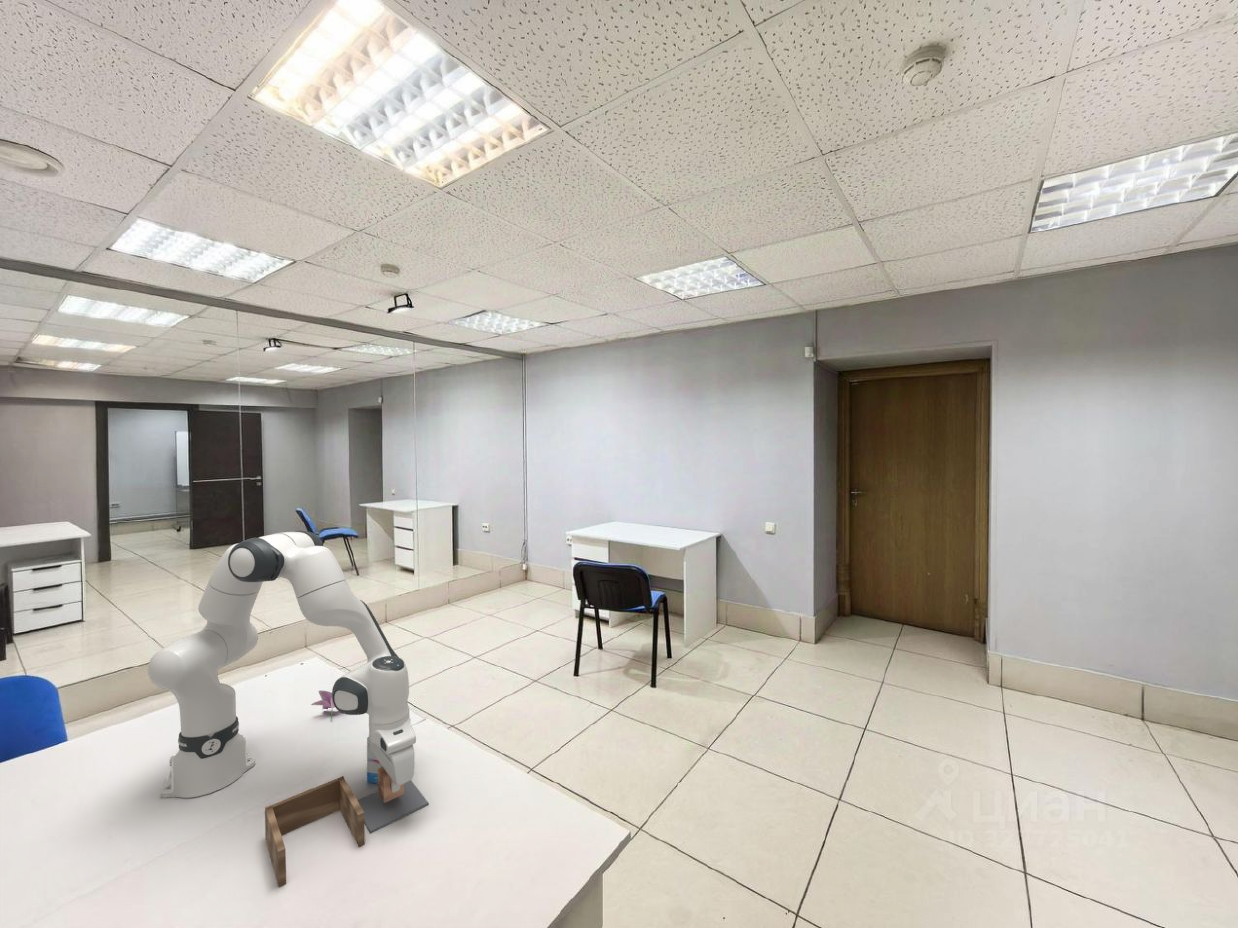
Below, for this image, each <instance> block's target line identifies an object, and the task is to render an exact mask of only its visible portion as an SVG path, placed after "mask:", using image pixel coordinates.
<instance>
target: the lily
mask: <svg viewBox="0 0 1238 928" xmlns="http://www.w3.org/2000/svg"><path fill="white" fill-rule="evenodd" d="M318 693H319V696H320V699H321V700H317V701H314V702H313V703H311V704H310V705H311V706H322V710H323V709H328V708H331V709H330V710H331V712H330V720H331V719H332V720H333V709H334V708H335V706H334V704H333V700H332V691H327V690H318Z"/></svg>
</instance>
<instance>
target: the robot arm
mask: <svg viewBox="0 0 1238 928" xmlns="http://www.w3.org/2000/svg"><path fill="white" fill-rule="evenodd" d="M280 578H282V579H286V580H287V581H289V582H290V585H291V586H292V589H293V592H294V594H295V598H296V600H297V605H298V608H299V610H300V611H301V614H302V615H303V617H304V618H305V619H306V620H307V621H308V622H309V623H311V624H315V625H318V626H322V627H338V628H345V629H347V630H348V631H350V632H351V633H353V635H354V636H355V638H356V640H357V642H358V643H359V645H360V647H361V649H362V651H363V652H364V654H365V657H366V658H367V659H366V660H367V662H366V663H364V664H362V665H360V666H359V667H356V668H354V669H353V670H350V671H348V672H347V673H345V674H343V675H342V676H341V677H340V678H339V677H338V678H337V680H335V682H334V684H333V686H332V689H331V693H332V700H333V704H334V706H335V707H334V708H335V709H336V710H337V711H338V712H339V713H341V714H343V715H347V716H358V715H364V714H367V715H368V731H369V732H368V737H369V740H370V749H371V751H372V753H373V754H374V756H375V757H376V758H377V760H378V761H379V763H380V767H383V768H384V769H385V771H386V772H387V773H388V775H389V776H390V778H391V779H392V781H391V783H390V789H391V791H392V792H393V793H394V792H396V791H398V790H399V789H400V785H402V784H405V783H407V782H409V781H412V780H413V778H414V773H415V748H414V747H415V746H414V744H416V743H417V736H416V733H415V730H414V728H413V726H412V723H411V717H410V716H411V715H410V707H409V703H408V702H409V701H408V699H409V695H410V682H409V681H410V679H409V674H408V671H409V670H408V667H407V665H406V663H405V661H404V659H402V658H401V657H399V655H398V654H397V653H396V652H395V651H394V649H393V648H392V647H391V644H390V643H389V641H388V639H387V638H386V636H385V634H384V632H383V630H382V628H381V626H380V624H379V623H378V621H377V619H376V617H375V615H374V614H373V612H372V610H371V609H370V607H369V606H368V605H367V604H366V602H364V601H363V600H362V599H359V598H358V597H357V596H356V595H355V594H354V592H353V591H352V589H351V587H350V585H349V584H348V582H347V579H346V576H345V574H344V572H343V569H342V566H340V564H339V561H338V560H337V558H336V556H335V554H334V553H333V552H332V551H331V549H329V548H328V547H326V546H324V545H323V542H322V540H321V538H320V537H319V536H318V535H317V534H316V533H313V532H312V531H306V530H305V531H304V530H296V531H287V532H286V531H285V532H284V531H283V532H274V533H272V534H267V535H262V536H259V537H251V538H248V539H246V540H243V541H241V542H238V543H235V544H232V545H230V546H229V547H228V548H227V549H226V550H225V551H224V552H223V554H222V556H221V557H220V558H219V560H218V561H217V563H216V565H215V567H214V569H213V570H212V573H211V575H210V577H209V579H208V581H207V585H206V586H205V588H204V591H203V594H202V597H201V599H200V601H199V604H198V606H197V607H198V608H197V609H198V612H199V614H200V616H201V617H202V618H203V619H204V620H206V621H207V622H206V624H205V626H204V627H203V628H202V629H201V630H200V631H198V632H196V633H193V634H191V635H187V636H186V637H183V638H180V639H178V640H176V641H173V642H172V643H170V644H168V645H166V646H164V647H163V648H162V649H160V650H159V651H157V652H156V653H154V655H152V657H151V658H150V659H149V662H148V666H147V674H148V677H149V680H150V681H151V682H152V683H153V685H155V686H156V687H158V688H161V689H164V690H168V691H170V693H171V694H173V696H174V697H175V699H176V700H177V701H176V702H177V703H178V704H177V705H178V708H179V720H180V731H179V734H178V739H177V743H178V751H177V752H176V754H175V755H172V756H171V757H170V758H169V767H171V771H170V773H169V775H168V778H167V780H166V781H165V784H164V786H163V788H162V790H161V794H160V797H161V798H171V797H177V798H184V799H188V798H189V799H190V798H195V797H201V796H205V795H209V794H211V793H214V792H216V791H219V790H221V789H223V788H226V787H227V786H229V785H230V784H232V783H233V782H235V781H237V780H238V779H240V777H241V776H243V774H245V772H246V771H248V770H250V769H251V768H252V767H254V766H255V765H256V759H255V758H254V757H253V756H252V755H250V754H249V753H248V752H247V751H248V750H247V739H246V737H245V736H244V735H243V734H240V733H239V730H240V728H239V727H240V722H239V717H238V716H237V703H236V702H237V700H236V691H235V688H234V687H233V686H231V685H229V684H228V683H223V682H220V679H219V676H218V674H219V671H220V670H221V669H222V668H224V667H227V666H229V665H230V664H233V663H235V662H236V661H238V660H240V659H242V658H243V657H244V656H246V655H247V654H249V652H251V651H252V650H253V649H254V648H255V647H256V645H257V643H258V639H259V633H258V630H257V628H256V626H255V625H254V624H253V623H252V622H251V614H252V610H253V607H254V606H255V603H256V600H257V597H258V595H259V593H260V590H261V588H262V585H263V583H264V582H273V581H275V580H277V579H280Z"/></svg>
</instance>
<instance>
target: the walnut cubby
mask: <svg viewBox="0 0 1238 928" xmlns="http://www.w3.org/2000/svg"><path fill="white" fill-rule="evenodd" d="M357 800H358V799H357V797H356V796H355V794H354V792H353V790H352V789H351V787H350V786H349V783H348V782H347V780H346V778H345V776H344V775H343V776H342V775H341V776H339V777H337V778H334V779H332V780H329V781H328V782H324V783H322V784H320V785H317V786H315V787H312V788H309V789H307V790H305V791H303V792H299V793H297V794H295V795H292V796H290V797H287V798H284V799H282V800H280V801H277V802H275V803H272V804H270V805H267V806H265V807H264V825H265V826H264V827H265V829H264V830H265V842H266V845H267V849H268V852H269V857H270V861H271V864H272V867H273V871H274V875H275V879H276V882H277V884H278V888H280V887H282V886H284V885H287V861H286V860H287V857H286V856H287V854H286V851H287V849H286V846H285V843H284V839H283V837H282V836H283V835H286V834H287V833H290V832H292V831H294V830H297V829H298V828H301V827H304V826H306V825H308V824H310V823H313V822H315V821H317V820H320V819H322V818H324V817H326V816H328V815H331V814H334V813H335V812H338V811H339V812H340V813H341V815H342V817H343V819H344V821H345V824H346V825H347V827H348V829H349V831H350V833H351V835H352V837H353V839H354V841H355V843H356V845H357V847H358V848H361V847H362V846H364V845H365V842H366V841H365V840H366V839H365V834H366V833H365V823H364V811H363V809H362V808H361V806H360V804H359V802H358V801H357Z"/></svg>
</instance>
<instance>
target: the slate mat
mask: <svg viewBox="0 0 1238 928" xmlns="http://www.w3.org/2000/svg"><path fill="white" fill-rule="evenodd" d="M357 801H358V802H359V804H360V806H361V808H362V809H363V811H364V826H365V827H366V828H367V831H368V832H369V834H372V833H374V832H376V831H378V830H380V829H382V828H384V827H387V826H389V825H391V824H393V823H395V822H396V821H399V820H401V819H402V818H406V817H407V816H408V815H411V814H413V813H416V812H417V811H418V810H421V809H422V808H425V807H427V806H429V804H430V803H429V802H428V800H427V799H426V798H425V796H424V794H423V793H421V791H420V790H419V789H418V787H417V786H416V785H415V784H414V782H413V781H412V780H411V781H409V782H407V783H405V784H404V794H403V795H400V796H398V797H396V798H394V799H392V800H390V801H388V802H385V803H384V802H383V800H382V799H381V797H380V796H379V794H378V790H377V791H374V792H371V793H369V794H367V795H365V796H363V797H361V798H358V799H357Z"/></svg>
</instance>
